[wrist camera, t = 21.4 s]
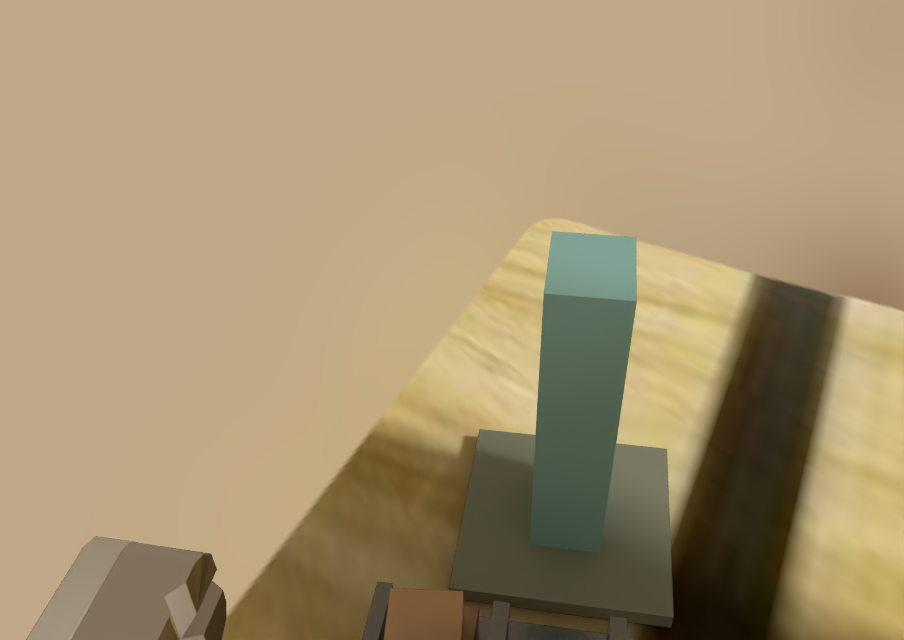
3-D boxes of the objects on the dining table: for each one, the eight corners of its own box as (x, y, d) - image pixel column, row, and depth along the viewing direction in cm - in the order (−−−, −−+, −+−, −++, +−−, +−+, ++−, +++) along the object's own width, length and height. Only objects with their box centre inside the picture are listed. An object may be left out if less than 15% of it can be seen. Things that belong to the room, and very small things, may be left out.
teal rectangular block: (536, 477, 53) (551, 231, 41) (602, 484, 52) (636, 237, 41) (529, 544, 49) (543, 293, 37) (600, 552, 48) (636, 301, 37)
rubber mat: (479, 439, 56) (479, 429, 56) (664, 459, 55) (666, 448, 54) (449, 598, 47) (449, 587, 47) (670, 627, 46) (673, 617, 45)
